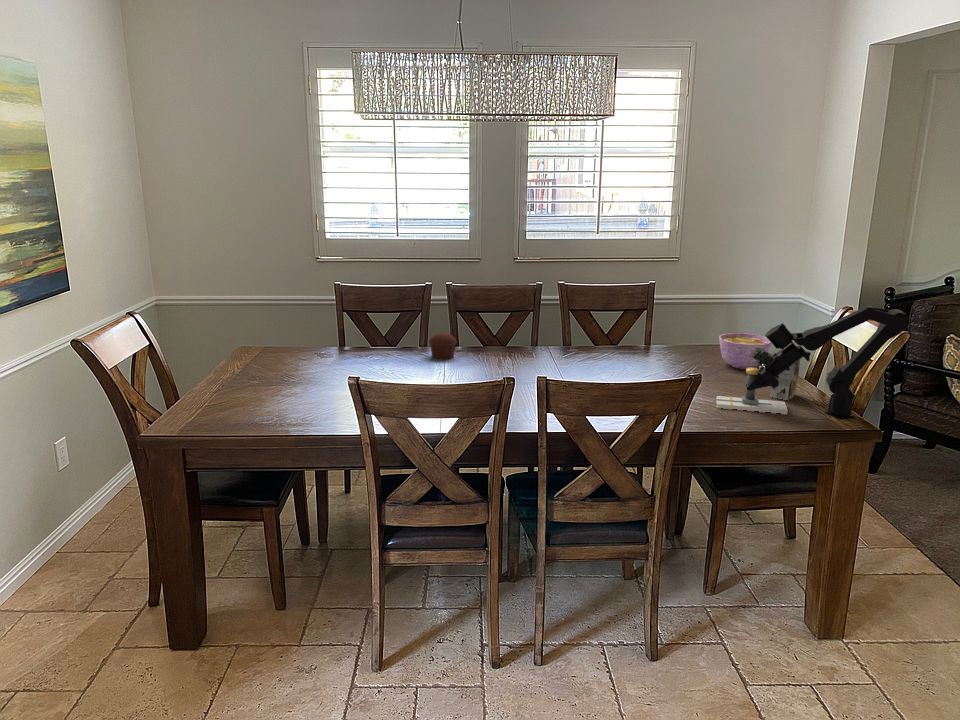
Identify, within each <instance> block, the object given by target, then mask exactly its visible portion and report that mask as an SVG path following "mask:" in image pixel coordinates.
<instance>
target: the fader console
mask: <svg viewBox="0 0 960 720" xmlns="http://www.w3.org/2000/svg"><path fill="white" fill-rule="evenodd" d="M715 401H716V409H721V408H723V410H724V409H725V410H732V409H737V410H736V411H743V410H747V411H746V412H754V411H759V412H758V413H765V412H771V413H770V414H776V413H781V414H780V415H788V407H787V404H786V402H785V401H780V400H770V399H758V404H748V403H742V397H734V396H724V395H717V396H716V398H715Z"/></svg>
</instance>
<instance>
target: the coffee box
mask: <svg viewBox="0 0 960 720" xmlns="http://www.w3.org/2000/svg"><path fill="white" fill-rule="evenodd" d="M782 350H783V349H780V350H779V351H777V352H776V353H777V354H778V353H779V352H781V351H782ZM800 363H801V359H800V360H799V361H797V362H796V363H795V364H793V365H792V366H791V367H789V368H790V369H789V370H788V371H787V370H785V371H784V372H783V373H781V374H780V375H779V378H778V380H779V386H777V387H776V388H775V389H773V388H772V387H771V386H770V387H771V390H770V395H769V396H770V398H772V397H773V399H777V398H778V399H777V400H781V399H783V400H782V401H786V400H788V401H790V400H791V399H792V398H794V395H795V396H796V394H797V387H798V381H799V379H798V378H799V372H800V371H799V370H800V365H801V364H800ZM789 399H790V400H789Z"/></svg>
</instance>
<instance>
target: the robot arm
mask: <svg viewBox="0 0 960 720" xmlns="http://www.w3.org/2000/svg"><path fill="white" fill-rule="evenodd" d="M868 321H873V322H876V323H878V326H877V329H876V331H875V332H874V333H873V334H872V335H871V336H870V337H869V338H868V340H867V341H866V342H865V343H863V345H862V346H861V347H860V348H859V349H858V350H857V351H856V352H855V354H854V355H852V357H851V358H850V359H849V360H847V362H846V363H845V364H844V365H842V366H840V367H839V366H838V365H834V367H833V368H832V369H831V371H830V372H828V373H826V374H827V377H826V379H825V383H826V385H827V387H828V389H829V391H830V392H831V393H832V394H830V398H829V403H828V409H827V410H825V411H824V413H825V414H827V415H830V416H831V417H834V418H837V419H846V418H847V419H849V418H855V414H854V413H853V414H852V410H853V402H854V400H855V398H856V395H855V393H854V392H853V390H852V389H851V386H852V385H853V382H854V380H855V378H856V376H857V374H858V373H859V372H860V371H861V369H863V368H864V367H865V366H866V364H867V363H868V362H869V361H870V360H871V359H872V358H873V357H874V356H875V355H876V354H877V353H878V352H879V351H880V349H881V348H882V347H883V346H884V345H885V344H886V343H887V342H888V341H889V340H891V339H893V338H895V337H896V336H899V334H901V333H902V332H904V331H905V330H906V329H907V328H908V327H909V326H910V324H911V321H910V318H909V315H908V314H907V313H905V312H904V311H902V310H900V309H897V308H894V309H886V308H880V307H875V306H871V305H863V306H862V307H861V308H859V309H857V310H855V311H853V312H851V313H849V314H847V315H844V316H842V317H841V318H838V319H837V320H835V321H832V322H830V323H828V324H825V325H820V326H816V327H812V328H810V329H806V330H804V331H803V332H795V333H794V332H791V331H790V330H789V329H788V328H787V327H786V325H785V324H784V322H781V323H780V324H779V325H776V326H774V327H772V328H770V329H769V330H768V331H767V332H766V334H765V335H764V337H766V338H767V339H768V340H769V341H770V342H771V345H773V347H775V349H777V350H778V349H780V350H782V349H783V350H782V351H781V352H779V351H778V352H779V353H778V354H777V352H774V353H770V352H769V351H768V352H766V351H765V350H762V349H760V348H758V347H757V348H756V349H755V351H754V352H753V354H752V356H753V358H754V359H756V360H757V363H758V364H760V365H756V367H755V368H758V369H760V372H759V370H758V375H757V378H756V379H755V380H754V381H753V382H752V383H751V384H750V385H749V386H748V387H747V383H746V384H745V387H746V389H747V390H748V391H749V390H754V389H756V390H757V389H763V388H766V387H772V388H773V389H775V388H776V387H777V386H779V380H778V378H779V375H780V374H781V373H783V372H784V371H785V370H787V371H788V370H789V369H790V368H789V367H791V366H792V365H793V364H795V363H796V362H797V361H799V360H800V361H801V359H803V358H804V359H805V360H806V361H807V362H810V361H811V360H810V357H811V352H813V351H817V350H819V349H820V348H822V347H823V346H825V345H826V344H827V343H828V342H830V341H831V339H832V338H834V337H836V336H839V335H841V334H843V333H845V332H847V331H849V330H851V329H853V328H855V327H857V326H859V325H861V324H864V323H866V322H868ZM805 349H806V350H807V351H806V350H805ZM810 351H811V352H810ZM746 389H745V390H746Z"/></svg>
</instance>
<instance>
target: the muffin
mask: <svg viewBox="0 0 960 720" xmlns="http://www.w3.org/2000/svg"><path fill="white" fill-rule="evenodd" d="M428 343H429V345H430V350H431V356H432V358H433V360H434V359H435V360H445V361H446V360H451V359H452V358H454V355H455V350H456V345H457V343H458V341H457V339H456V337H454V336H453V335H452V334H450V333H447V332H438V333H435V334H434V335H432V336H431V338H430V339H429V341H428Z"/></svg>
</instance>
